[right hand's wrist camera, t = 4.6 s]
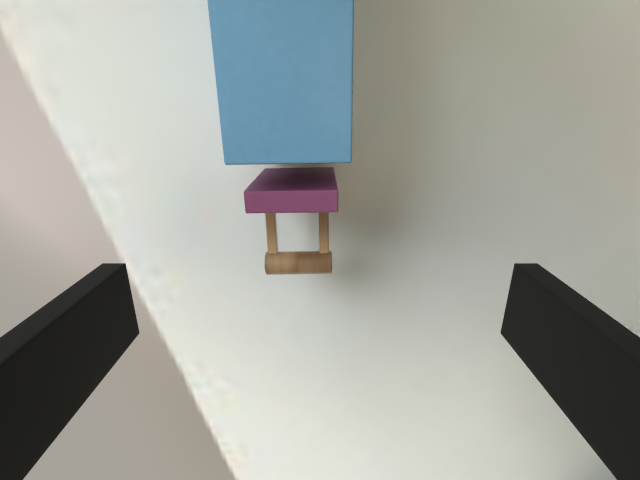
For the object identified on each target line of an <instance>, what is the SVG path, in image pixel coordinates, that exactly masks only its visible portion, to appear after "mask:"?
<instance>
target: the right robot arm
mask: <svg viewBox="0 0 640 480" xmlns="http://www.w3.org/2000/svg"><path fill="white" fill-rule="evenodd" d="M138 334H139V329H138V324H137V319H136V314H135V309H134V304H133V299H132V294H131V289H130V284H129V279H128V274H127V269H126V264H101V265H100V266H99V267H97V268H96V269H94V270H93V271H92V272H90V273H89V274H87V275H86V276H85V277H83V278H82V279H81V280H79V281H78V282H77V283H75V284H74V285H72V286H71V287H70V288H68V289H67V290H65V291H64V292H63V293H61V294H60V295H59V296H57V297H56V298H54V299H53V300H52V301H50V302H49V303H48V304H46V305H45V306H43V307H42V308H41V309H39V310H38V311H36V312H35V313H34V314H32V315H31V316H30V317H28V318H27V319H25V320H24V321H23V322H21V323H20V324H19V325H17V326H16V327H14V328H13V329H12V330H10V331H9V332H7V333H6V334H5V335H3V336H2V337H1V338H0V480H23V479H24V477H25V476H26V475H27V474H28V472H29V471H30V470H31V469H32V467H33V466H34V465H35V464H36V462H37V461H38V460H39V459H40V457H41V456H42V455H43V453H44V452H45V451H46V450H47V448H48V447H49V446H50V445H51V443H52V442H53V441H54V440H55V438H56V437H57V436H58V435H59V433H60V432H61V431H62V430H63V428H64V427H65V426H66V425H67V423H68V422H69V421H70V420H71V418H72V417H73V416H74V415H75V413H76V412H77V411H78V410H79V408H80V407H81V406H82V405H83V403H84V402H85V401H86V399H87V398H88V397H89V396H90V394H91V393H92V392H93V391H94V389H95V388H96V387H97V386H98V384H99V383H100V382H101V381H102V379H103V378H104V377H105V376H106V374H107V373H108V372H109V371H110V369H111V368H112V367H113V366H114V364H115V363H116V362H117V360H118V359H119V358H120V357H121V356H122V354H123V353H124V352H125V350H126V349H127V348H128V347H129V345H130V344H131V343H132V342H133V340H134V339H135V338H136V337H137V335H138ZM501 334H502V335H503V337H504V338H505V339H506V340H507V342H508V343H509V344H510V345H511V347H512V348H513V349H514V350H515V352H516V353H517V354H518V356H519V357H520V358H521V359H522V361H523V362H524V363H525V364H526V366H527V367H528V368H529V369H530V371H531V372H532V373H533V374H534V376H535V377H536V378H537V379H538V381H539V382H540V383H541V384H542V386H543V387H544V388H545V389H546V391H547V392H548V393H549V394H550V396H551V397H552V398H553V400H554V401H555V402H556V403H557V405H558V406H559V407H560V408H561V410H562V411H563V412H564V413H565V415H566V416H567V417H568V418H569V420H570V421H571V422H572V423H573V425H574V426H575V427H576V428H577V430H578V431H579V432H580V433H581V435H582V436H583V437H584V438H585V440H586V441H587V442H588V443H589V445H590V446H591V447H592V449H593V450H594V451H595V452H596V454H597V455H598V456H599V457H600V459H601V460H602V461H603V462H604V464H605V465H606V466H607V467H608V469H609V470H610V471H611V472H612V474H613V475H614V476H615V477H616V479H617V480H640V338H639V337H638V336H637V335H635V334H634V333H633V332H631V331H630V330H628V329H627V328H626V327H624V326H623V325H622V324H620V323H619V322H617V321H616V320H615V319H613V318H612V317H610V316H609V315H608V314H606V313H605V312H604V311H602V310H601V309H599V308H598V307H597V306H595V305H594V304H593V303H591V302H590V301H588V300H587V299H586V298H584V297H583V296H581V295H580V294H579V293H577V292H576V291H575V290H573V289H572V288H570V287H569V286H568V285H566V284H565V283H564V282H562V281H561V280H559V279H558V278H557V277H555V276H554V275H553V274H551V273H550V272H548V271H547V270H546V269H544V268H543V267H541V266H540V265H539V264H514V269H513V274H512V279H511V284H510V289H509V294H508V299H507V304H506V309H505V314H504V319H503V324H502V329H501Z"/></svg>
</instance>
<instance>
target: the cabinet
mask: <svg viewBox="0 0 640 480" xmlns="http://www.w3.org/2000/svg"><path fill="white" fill-rule="evenodd" d="M208 8H209V17H210V27H211V37H212V46H213V56H214V65H215V75H216V85H217V94H218V104H219V113H220V123H221V133H222V142H223V152H224V161H225V164H226V165H239V164H306V163H350V162H351V158H352V87H353V17H354V0H208Z"/></svg>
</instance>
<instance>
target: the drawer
mask: <svg viewBox="0 0 640 480" xmlns="http://www.w3.org/2000/svg"><path fill="white" fill-rule="evenodd" d="M244 200H245V211H246V213H265V215H266V229H267V244H268V252H266V255H265V272H266V274H331V273H332V252H331V251H329V234H328V212H338V188H337V183H336V178H335V173H334V168H272V169H264V170H263V171H262V172H261V173H260V175H259V176H258V177H257V178H256V179H255V180H254V181H253V182H252V183H251V184H250V186H249V187H248V188H247V189H246V190H245V191H244ZM297 212H319V249H320V251H302V252H278V242H277V225H276V213H297Z"/></svg>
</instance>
